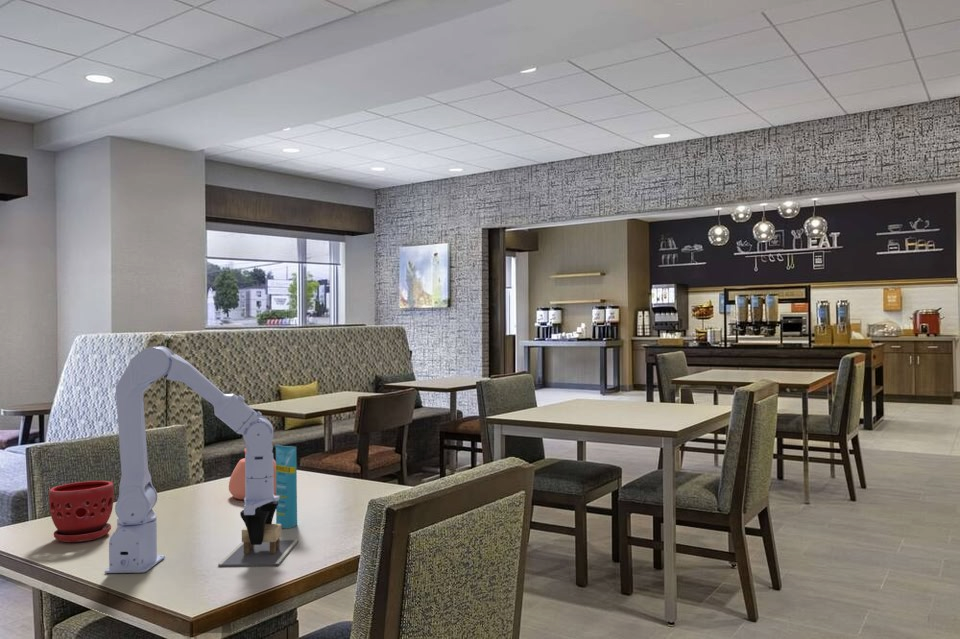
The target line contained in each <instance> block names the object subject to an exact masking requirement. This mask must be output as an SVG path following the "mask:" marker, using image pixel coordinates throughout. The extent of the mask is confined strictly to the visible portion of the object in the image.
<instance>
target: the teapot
mask: <svg viewBox="0 0 960 639" xmlns="http://www.w3.org/2000/svg"><path fill="white" fill-rule="evenodd" d="M243 450H244V456H245V455H246V447H245V448H244V449H243ZM273 471H274V495H275V496H276V459H274V458H273ZM228 491H229V493H230V494H231V495H232V496H233V498H235V499H238V500H243V501H244V498H245V457H244V458H241V459H240V460H239V461H238V462H237V463H236V466H235V468H234V469H233V471H232V473H231V475H230V478H229V481H228Z"/></svg>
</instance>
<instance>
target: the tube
mask: <svg viewBox="0 0 960 639" xmlns="http://www.w3.org/2000/svg"><path fill="white" fill-rule="evenodd" d="M275 461H276V496H279V500H278V501H277V502H278V506H277V508H276V510H275V514H276V515H275V520H276V521H275V522H276V523H275V524H281V529H292V528H294V527H296V526H297V525H298V490H297V488H298V486H297V483H298V482H297V478H298V477H297V476H298V475H297V472H298V471H297V470H298V469H297V463H298V462H297V446H293V445H289V446H288V445H280V444H275Z"/></svg>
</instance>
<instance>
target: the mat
mask: <svg viewBox="0 0 960 639" xmlns="http://www.w3.org/2000/svg"><path fill="white" fill-rule="evenodd" d="M298 543H299V539H294V540H293V539H289V540H287V539H286V540H284V539H283V540H281V539H280V548H279V549H276V552H275V554H270V542H262V544H261V545H254V549H250V553H249V554H244V542H242V541H241V543H239V544H238V545H237V546H236V547H235V548H234V549H233V550H232V551H231V552H230V553H229V554H227V555H226V556H225V557H224V558H223V559H222V560H221V561H220V562H219V563H218V564H217V567H218V568H220V567H222V568H223V567H225V568H226V567H279V566H280V565H281V564H282V563H283V561H284V560H285V559H286V558H287V556H288V555H289V553H291V551H293V549H294V548H295V547H296V546H297V544H298Z"/></svg>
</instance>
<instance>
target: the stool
mask: <svg viewBox="0 0 960 639" xmlns="http://www.w3.org/2000/svg"><path fill="white" fill-rule="evenodd" d="M281 537H282V528H281V524H276V523H272V524H265V528H264V536H263V541H262V542H270V554H275V552H276V549H279V548H280V540H281ZM242 542H244V554H249V553H250V549H254V545H251V542H250V539H249V534H248V531H247V527H246V526H245V527H244V528H242V529H241V543H242Z"/></svg>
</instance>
